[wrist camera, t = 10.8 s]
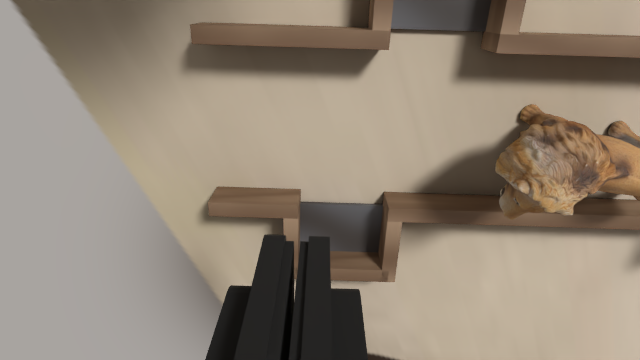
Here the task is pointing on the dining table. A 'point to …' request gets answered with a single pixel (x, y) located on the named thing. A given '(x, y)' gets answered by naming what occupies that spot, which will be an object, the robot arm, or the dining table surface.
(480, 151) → the dining table surface
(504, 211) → the lion figurine
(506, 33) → the wooden walled channel
